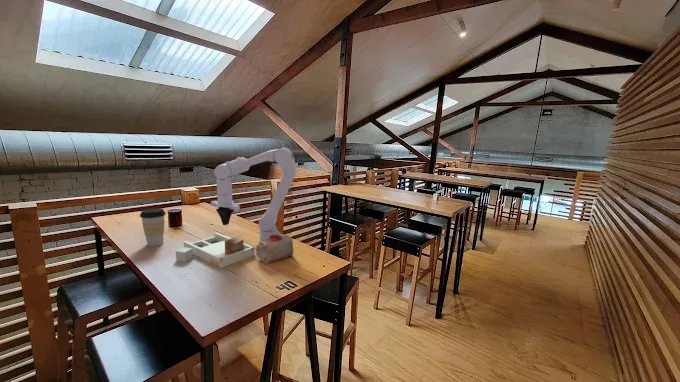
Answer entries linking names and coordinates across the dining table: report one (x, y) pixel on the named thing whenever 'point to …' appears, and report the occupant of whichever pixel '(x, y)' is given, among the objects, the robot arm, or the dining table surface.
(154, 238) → the coffee cup
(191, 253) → the grey block
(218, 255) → the tray
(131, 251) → the dining table surface
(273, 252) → the grey-brown rough block
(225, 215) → the robot arm
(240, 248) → the walnut block
